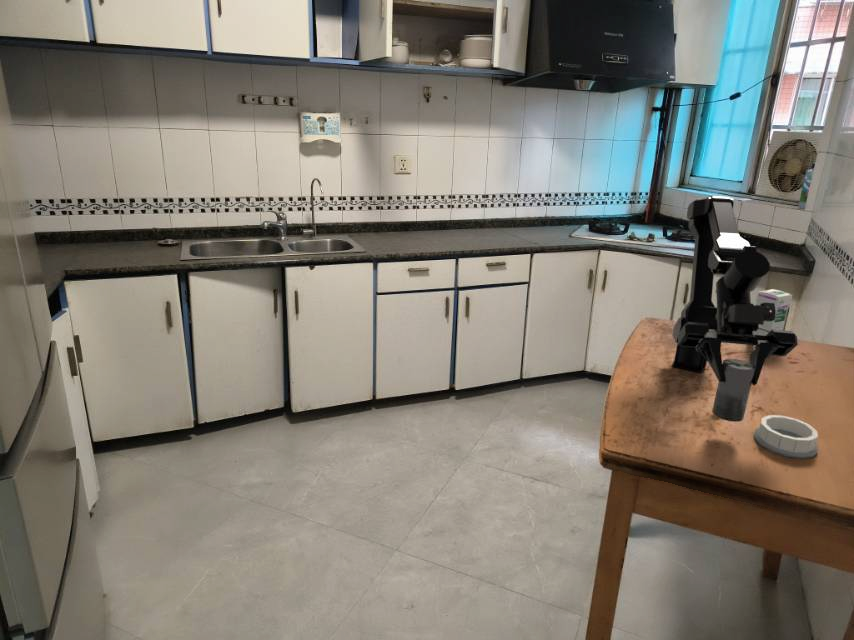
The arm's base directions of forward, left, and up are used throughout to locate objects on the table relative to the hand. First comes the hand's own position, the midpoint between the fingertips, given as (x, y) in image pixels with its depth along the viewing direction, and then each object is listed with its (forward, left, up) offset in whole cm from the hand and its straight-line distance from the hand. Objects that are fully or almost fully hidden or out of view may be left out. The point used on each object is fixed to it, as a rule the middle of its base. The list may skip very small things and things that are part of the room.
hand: (737, 382), depth 105 cm
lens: (0, +1, -7) cm, 7 cm away
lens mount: (+10, +4, -11) cm, 16 cm away
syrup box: (+5, +57, -12) cm, 59 cm away
